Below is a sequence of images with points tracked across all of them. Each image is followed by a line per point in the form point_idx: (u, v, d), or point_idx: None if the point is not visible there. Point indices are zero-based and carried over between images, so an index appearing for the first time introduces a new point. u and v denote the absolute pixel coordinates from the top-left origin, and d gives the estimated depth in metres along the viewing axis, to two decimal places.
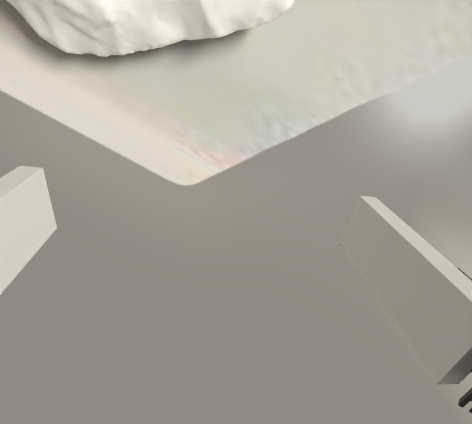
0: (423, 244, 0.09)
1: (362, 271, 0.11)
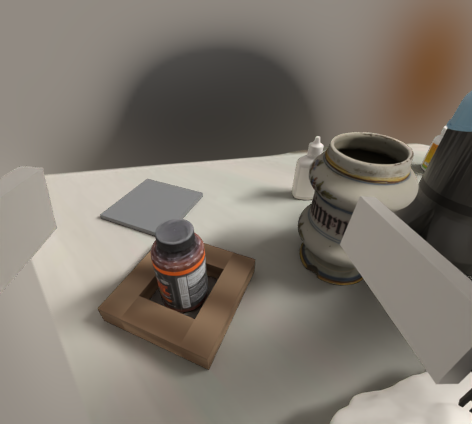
0: (423, 244, 0.09)
1: (362, 271, 0.11)
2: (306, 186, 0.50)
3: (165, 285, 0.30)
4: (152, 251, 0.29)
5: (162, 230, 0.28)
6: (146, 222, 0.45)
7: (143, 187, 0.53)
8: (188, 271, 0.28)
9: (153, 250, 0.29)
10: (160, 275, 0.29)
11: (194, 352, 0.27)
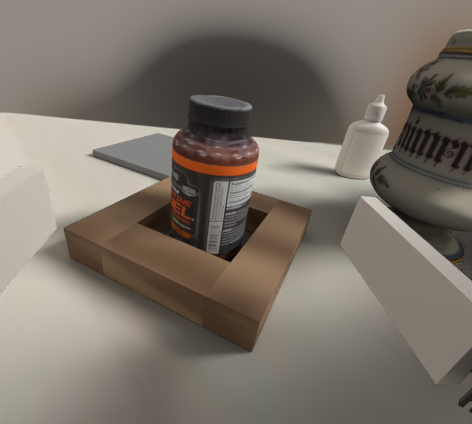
0: (423, 244, 0.09)
1: (362, 271, 0.11)
2: (357, 158, 0.40)
3: (187, 200, 0.18)
4: (177, 135, 0.17)
5: (202, 97, 0.17)
6: (154, 164, 0.33)
7: (152, 138, 0.42)
8: (234, 172, 0.16)
9: (178, 134, 0.17)
10: (185, 176, 0.17)
11: (233, 309, 0.14)
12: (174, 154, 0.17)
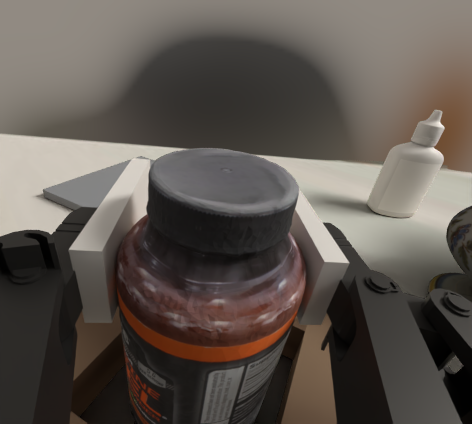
0: (307, 207, 0.10)
1: None
2: (400, 193, 0.30)
3: (151, 388, 0.08)
4: (125, 248, 0.07)
5: (180, 165, 0.07)
6: None
7: None
8: (258, 348, 0.07)
9: (127, 246, 0.07)
10: (141, 350, 0.07)
11: None
12: (117, 292, 0.07)
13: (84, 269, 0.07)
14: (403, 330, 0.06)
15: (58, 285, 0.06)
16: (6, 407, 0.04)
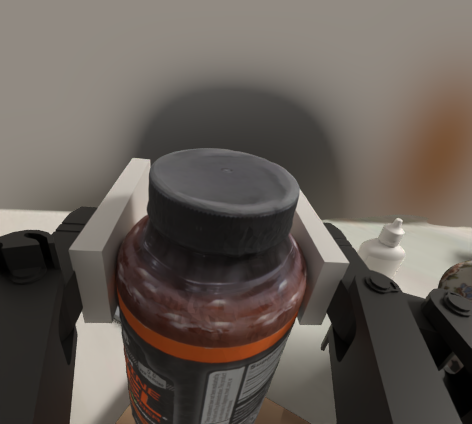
0: (307, 207, 0.10)
1: None
2: None
3: (151, 388, 0.08)
4: (125, 248, 0.07)
5: (180, 165, 0.07)
6: None
7: None
8: (259, 349, 0.07)
9: (127, 246, 0.07)
10: (141, 351, 0.07)
11: None
12: (118, 293, 0.07)
13: (84, 269, 0.07)
14: (403, 330, 0.06)
15: (58, 285, 0.06)
16: (6, 407, 0.04)
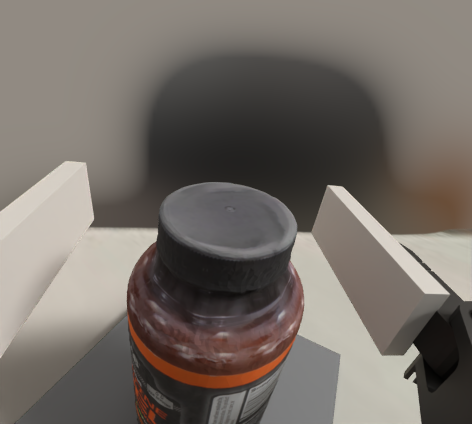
0: (378, 227, 0.10)
1: (328, 256, 0.12)
2: None
3: (159, 408, 0.08)
4: (136, 279, 0.08)
5: (187, 205, 0.08)
6: None
7: None
8: (259, 374, 0.07)
9: (138, 277, 0.08)
10: (150, 375, 0.08)
11: None
12: (129, 320, 0.08)
13: None
14: None
15: None
16: None
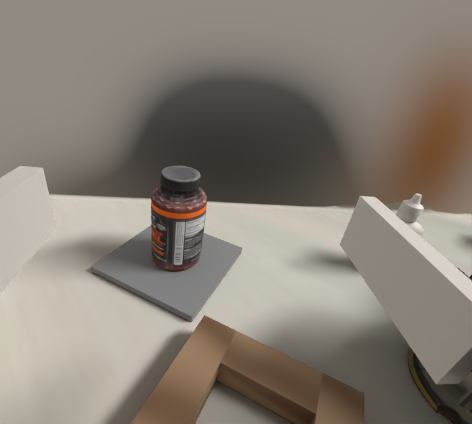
0: (423, 244, 0.09)
1: (362, 271, 0.11)
2: None
3: (161, 232, 0.28)
4: (154, 192, 0.28)
5: (169, 171, 0.27)
6: (164, 289, 0.29)
7: None
8: (188, 216, 0.27)
9: (155, 192, 0.28)
10: (158, 218, 0.28)
11: None
12: (152, 204, 0.28)
13: None
14: None
15: None
16: None
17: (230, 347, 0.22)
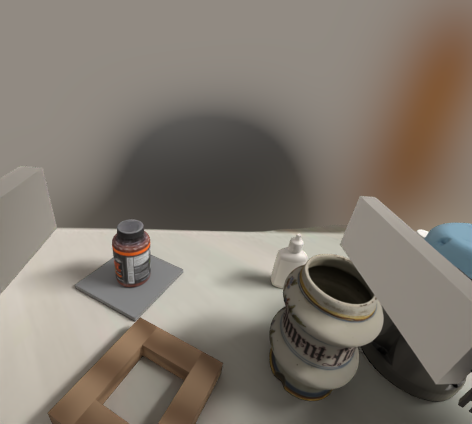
0: (424, 244, 0.09)
1: (362, 271, 0.11)
2: (284, 276, 0.51)
3: (118, 263, 0.44)
4: (113, 238, 0.44)
5: (122, 225, 0.43)
6: (121, 299, 0.44)
7: None
8: (134, 254, 0.43)
9: (114, 238, 0.44)
10: (116, 255, 0.43)
11: None
12: (112, 246, 0.43)
13: None
14: None
15: None
16: None
17: (150, 336, 0.38)
